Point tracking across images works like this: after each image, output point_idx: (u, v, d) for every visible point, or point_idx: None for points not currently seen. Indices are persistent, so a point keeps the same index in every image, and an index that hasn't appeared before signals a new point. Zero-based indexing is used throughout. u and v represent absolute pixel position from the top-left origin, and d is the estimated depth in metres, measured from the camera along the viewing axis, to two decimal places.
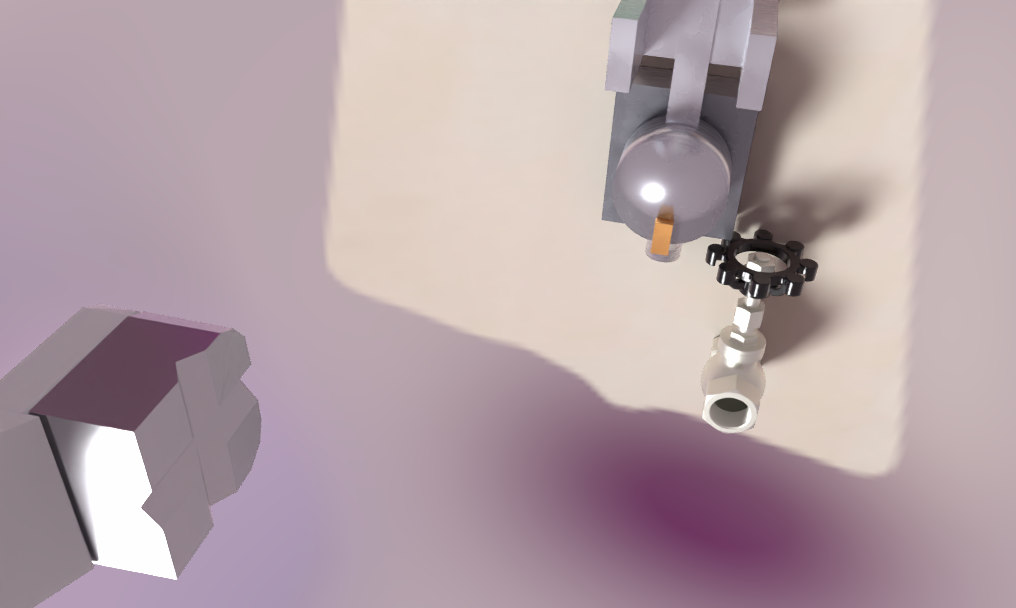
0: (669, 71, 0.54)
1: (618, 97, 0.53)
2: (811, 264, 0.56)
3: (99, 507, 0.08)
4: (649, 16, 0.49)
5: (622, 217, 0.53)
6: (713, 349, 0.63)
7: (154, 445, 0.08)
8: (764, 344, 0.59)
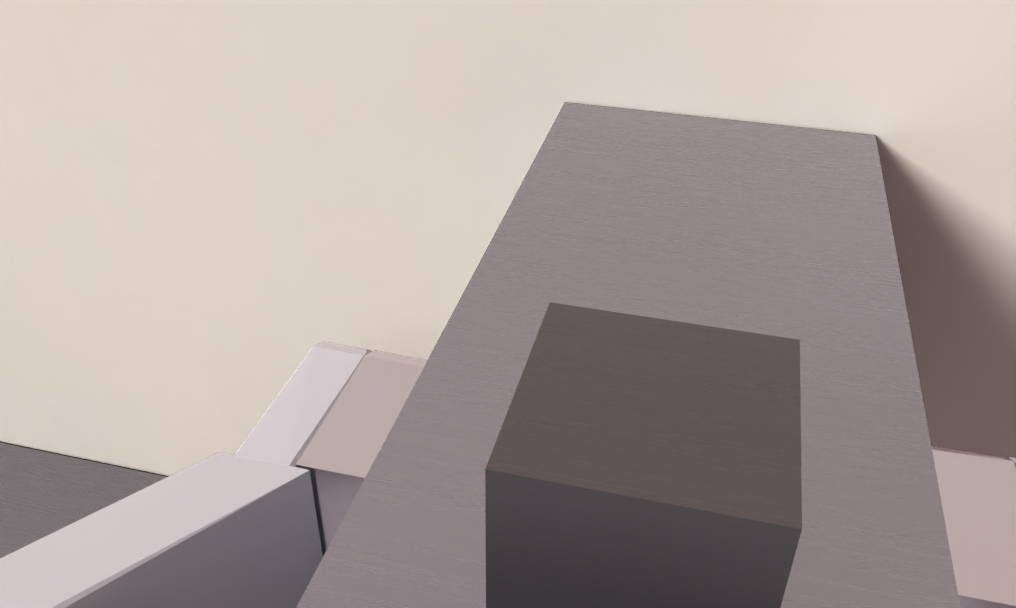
0: None
1: None
2: None
3: None
4: None
5: None
6: None
7: None
8: None
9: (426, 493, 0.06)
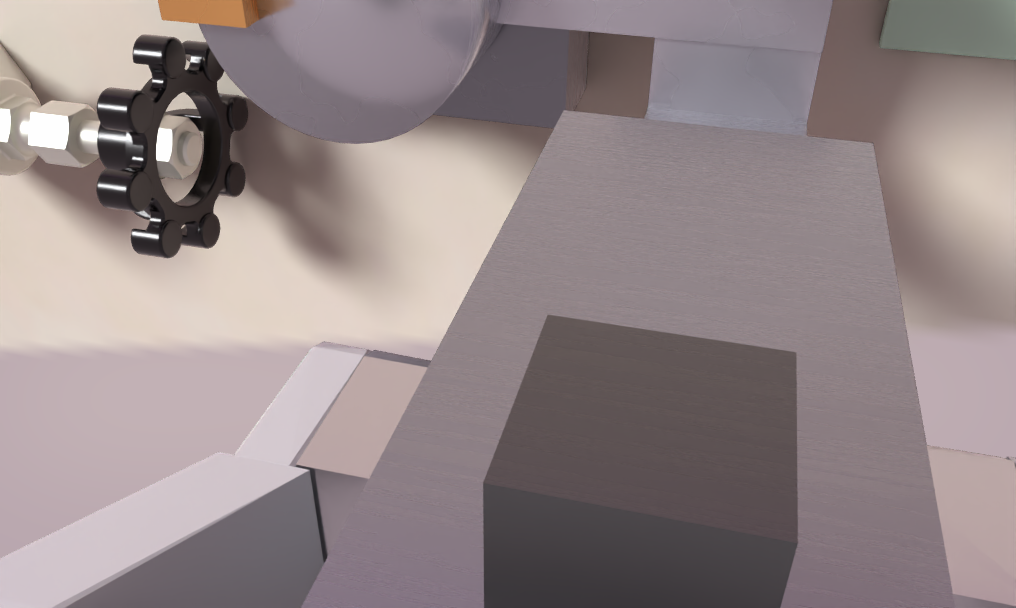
0: None
1: None
2: (210, 236, 0.29)
3: None
4: None
5: None
6: None
7: None
8: (18, 171, 0.29)
9: (424, 503, 0.06)
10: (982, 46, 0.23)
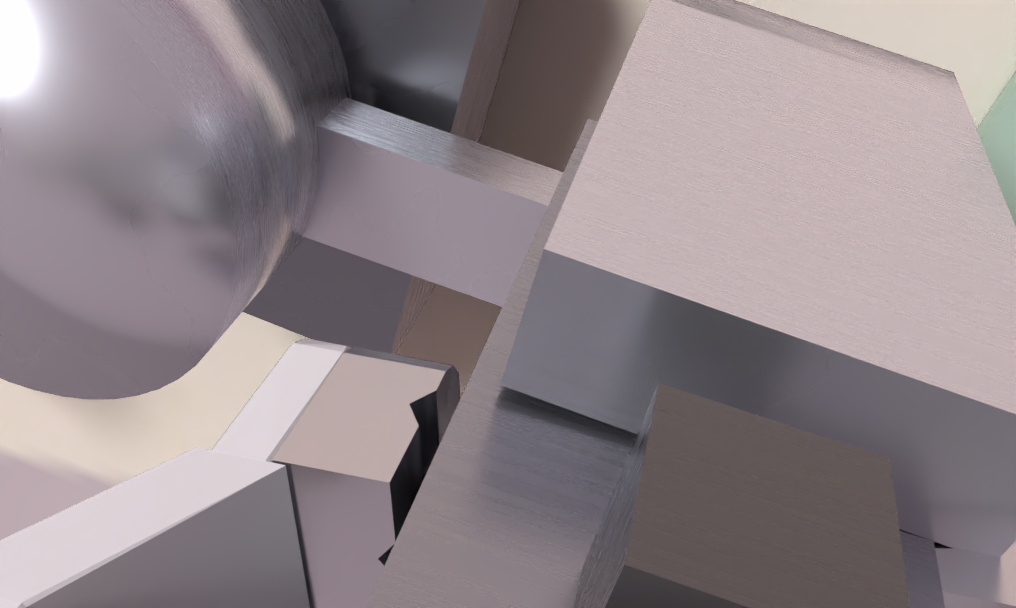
0: (505, 41, 0.15)
1: None
2: None
3: (331, 558, 0.07)
4: None
5: None
6: None
7: (400, 494, 0.07)
8: None
9: (473, 529, 0.06)
10: None
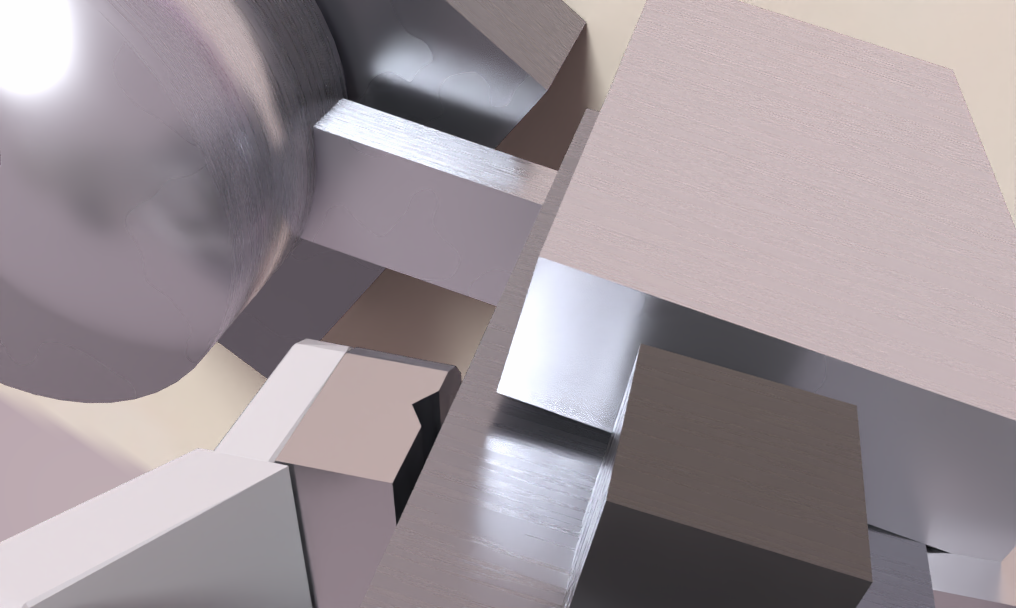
0: None
1: (489, 54, 0.13)
2: None
3: (333, 558, 0.07)
4: None
5: None
6: None
7: (403, 495, 0.07)
8: None
9: (479, 488, 0.06)
10: None
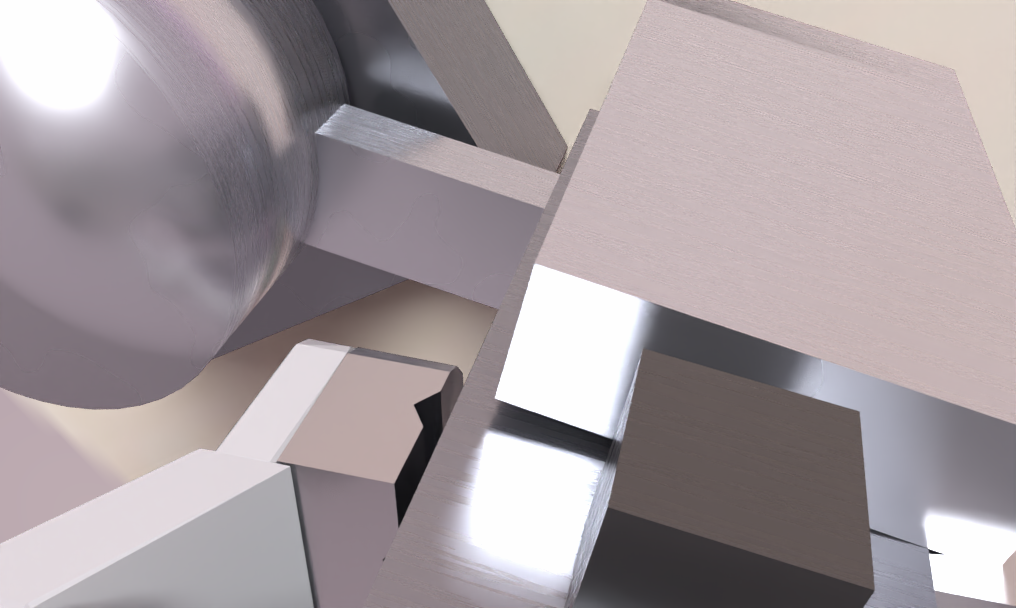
0: None
1: None
2: None
3: (335, 558, 0.07)
4: None
5: None
6: None
7: (405, 495, 0.07)
8: None
9: (482, 491, 0.06)
10: None
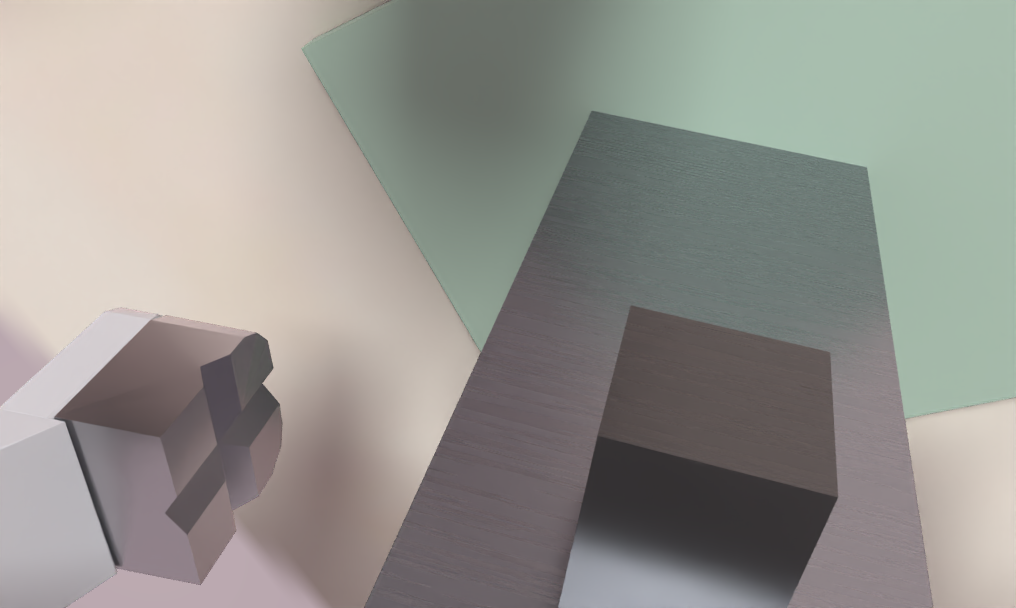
0: None
1: None
2: None
3: (123, 512, 0.08)
4: None
5: None
6: None
7: (180, 450, 0.07)
8: None
9: (493, 452, 0.07)
10: (405, 192, 0.13)
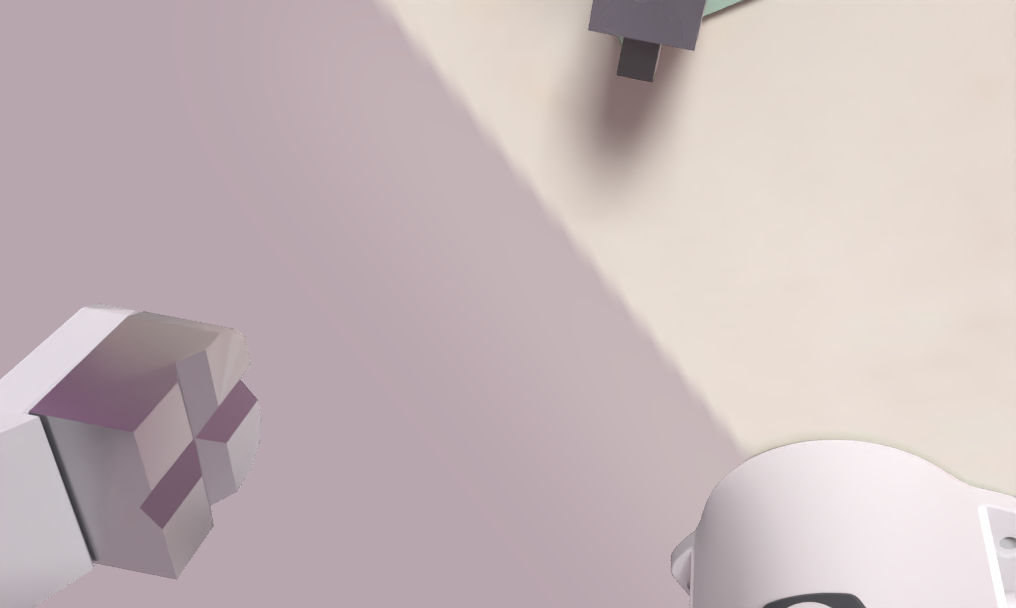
0: None
1: None
2: None
3: (99, 507, 0.08)
4: None
5: None
6: None
7: (154, 445, 0.08)
8: None
9: None
10: None
